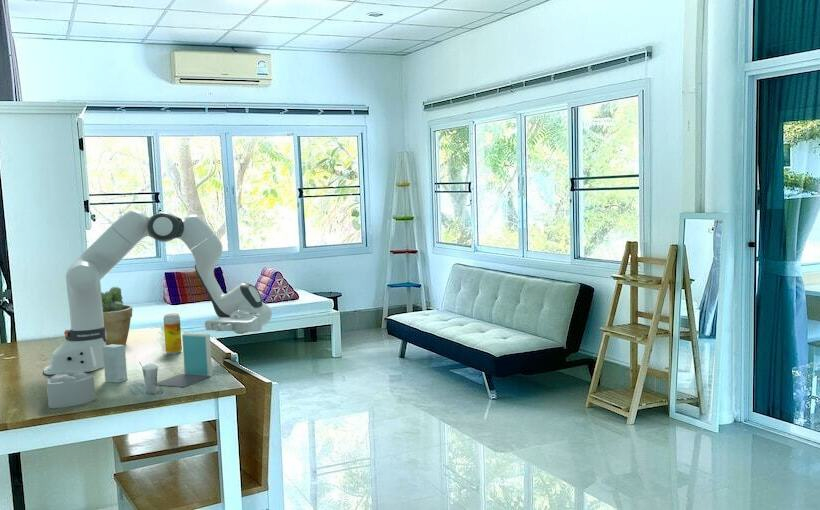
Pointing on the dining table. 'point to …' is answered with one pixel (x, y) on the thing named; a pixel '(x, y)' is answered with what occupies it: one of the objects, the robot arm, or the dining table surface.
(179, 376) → the mat
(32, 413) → the dining table surface
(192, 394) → the dining table surface
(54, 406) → the lumpy-topped squat cylinder
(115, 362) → the skincare box
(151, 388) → the milkshake
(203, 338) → the tile
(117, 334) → the potted plant
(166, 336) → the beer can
